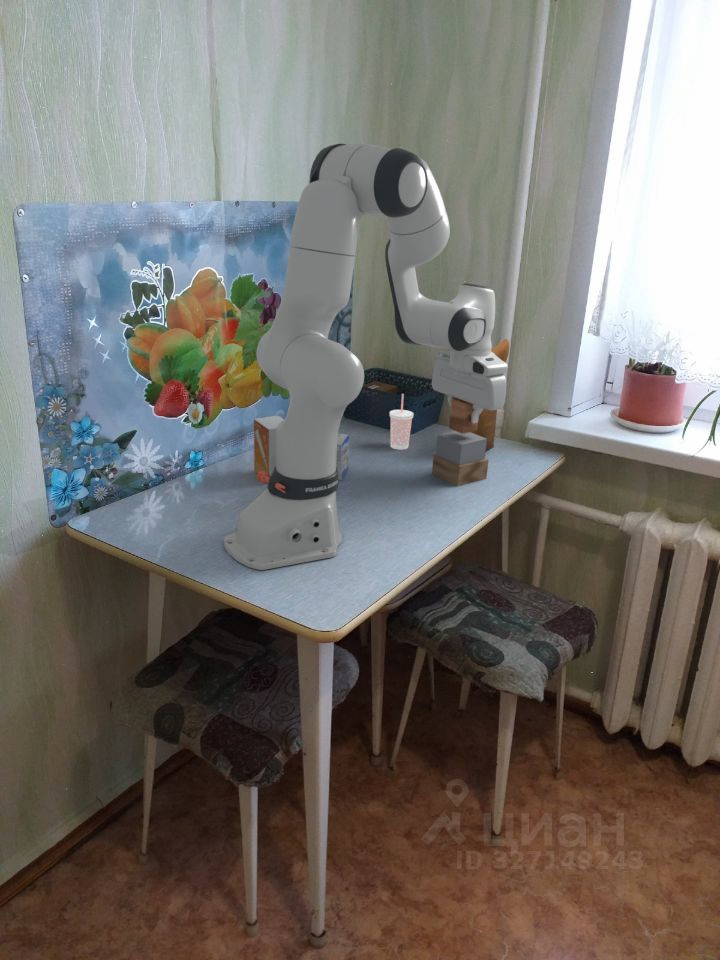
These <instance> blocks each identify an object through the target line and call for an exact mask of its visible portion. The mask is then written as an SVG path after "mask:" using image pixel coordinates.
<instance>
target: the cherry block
mask: <svg viewBox="0 0 720 960" xmlns="http://www.w3.org/2000/svg"><path fill="white" fill-rule="evenodd" d="M450 410H451V414H450V413H449V415H450V416H449V424H448V425H449V426H448V427H449V430H452V431H457V432H459V433H462V434H465V433H470V432H474V431H477V427H478V422H477V423H471V422H469V421H468V419H469V414H472V413H473V411H474V410H475V409H473V404H471V403H469V402H466V401H463V400H460V399H458V398H454V399H452V403H451V407H450Z"/></svg>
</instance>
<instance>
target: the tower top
mask: <svg viewBox="0 0 720 960" xmlns="http://www.w3.org/2000/svg"><path fill="white" fill-rule="evenodd" d="M436 436H437V437H436V447H435V454H436V455H437V456H439V457H441V458H444V459H446V460H448V461H450V462H453V463H455V464H457V465H459V466H460V465H464V464H468V463H471V462H475V461H479V460H483V459H486V458H485V456H486V452H485V450H486V441H487V439H486V438H484V437H481V436H479V435H476V434H474V433H471V432H470V433H465V434H462V433H459V432H457V431H454V430H452V431H447V432H442V433H439V434H437V435H436Z"/></svg>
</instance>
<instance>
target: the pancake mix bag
mask: <svg viewBox="0 0 720 960" xmlns="http://www.w3.org/2000/svg"><path fill="white" fill-rule="evenodd" d="M491 352H493V353H494V354H495V355H496V356H497V357H498V358H500V359H501V360H502V361H504V362H505V363H506V364H507V360H508V356H509V353H510V342H509V340H508V339H507V338H504V339H503V340H501V341H500V342H499V343H498V344H497V345H496V346H494V347H492V348H491ZM497 412H498V409H497V410H488V409H485V408H484V409H483V411H482V412H481V413H480V415H479V419H478V427H477V431H474V432H471V433H474V434H476V435H479V436H481V437H484V438H486V439H487V441H486V450H485V453H486V452H488V450H491V449H492V448H494V447H495V436H496V429H497V428H496V427H497V426H496V425H497Z"/></svg>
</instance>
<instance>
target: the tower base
mask: <svg viewBox="0 0 720 960" xmlns="http://www.w3.org/2000/svg"><path fill="white" fill-rule="evenodd" d="M488 466H489V459H487V458H485V459H483V460H479V461H475V462H471V463H468V464H464V465H460V466H459V465H457V464H455V463H453V462H450V461H448V460H446V459H444V458H441V457H439V456H437V455H436V453H435V454H433V457H432V468H431V469H432V470H431V471H432V472H431V474H432V475H435V476H436V477H438V478H440V479H443V480H445V481H446V482H449V483H451V484H453V485H455V486H456V487H459V486H463V485H468V484H472V483H476V482H479V481H484V480H487V478H488V477H487V475H488V470H489V469H488V468H489V467H488Z"/></svg>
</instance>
